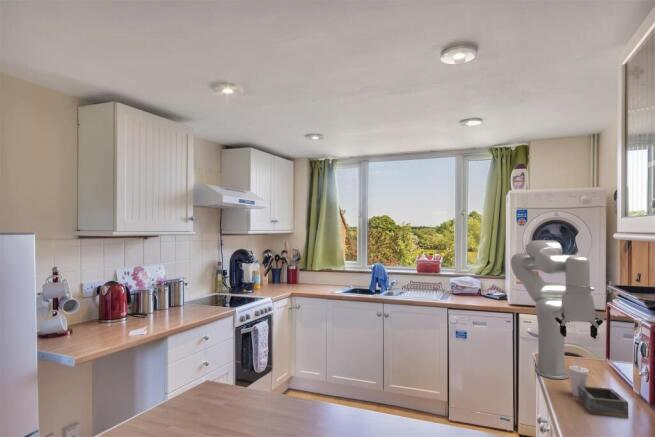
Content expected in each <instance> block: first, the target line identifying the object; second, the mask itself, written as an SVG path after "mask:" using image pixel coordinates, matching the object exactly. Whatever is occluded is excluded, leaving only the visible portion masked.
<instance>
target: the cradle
mask: <svg viewBox="0 0 655 437" xmlns="http://www.w3.org/2000/svg"><path fill="white" fill-rule="evenodd" d="M577 398H578V401H579V402H580V403H581V405H583V407H584V408H585V409H586V410H587V411H588V412H589V413H590V414H591V415H595V416H596V415H597V416H605V417H617V418H625V419H629V402H628V400H626V399H625V398H624V397H622V396H621V395H620V394H619V393H618V392H616V390H614V389H613V388H608V387H607V388H606V387H595V386H587V385H586V386H578V397H577Z"/></svg>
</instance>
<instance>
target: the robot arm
mask: <svg viewBox="0 0 655 437" xmlns="http://www.w3.org/2000/svg"><path fill="white" fill-rule="evenodd" d="M524 249H525V250H524V251H525V252H518V253H515V254H514V255H512V257H511V258H510V259H511V260H510V267H511V270H512V273H513V274H514V276H515V277H516V279H517V280H518V281H519V282H520V283H521V284H522V285H523V287H524V288H525V290H526V292H527V293H528V295H529V296H530V298H531V300H532V301H533V302H534V303H535V306H534V308H535V315H536V318H537V319H536V320H537V337H538V338H537V340H538V341H537V346H538V348H537V349H538V350H537V351H538V356H537V357H538V359H537V360H538V365H537V366H535V367H534V372H535V373H536V374H537V375H538V376H539V375H540V376H542V377H545V378H547V379H553V380H565V379H568V378H570V372H569V371H568V370H566V369H565V359H566V358H565V338H566V337H567V326H566V324H567V323H569V322H570V323H571V322H574V323H575V322H577V323H578V322H580V323H590V327H589V328H590V330H589V331H590V333H589V335H590V337H591V338H593V339H594V340H596V339H597V336H598V328H599V327H600V326H601V325H602V324H603V322H604V321H605V319H606V317H607V316H606V315H605V314H604V313H601V312H599V311H597V310H596V308H595V302H594V298H593V295H592V294H591V292H594V291H595V287H591V281H590V279H591V278H590V276H591V274H590V271H591V270H590V269H591V268H590V267H591V266H590V260H589V258H588V257H584V256H579V255H576V254H563V246H562V245H561V243H560V242H559V241H557V240H551V239H550V240H549V239H548V240H546V239H543V240H542V239H539V240H538V239H537V240H536V239H535V240H531V241H529V242H527V244H526V245H525V248H524ZM535 271H541V272H542V273H545V274H549V275H565V284H564V283H561V282H546V281H544V279H543V278H542V275H540V274H538V273H537V272H535ZM596 316H598V318H597V320H596Z"/></svg>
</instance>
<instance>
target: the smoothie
mask: <svg viewBox="0 0 655 437" xmlns="http://www.w3.org/2000/svg"><path fill="white" fill-rule="evenodd" d="M567 371H568V373H569V378H570V383H571V390H572V395H573V396H574V397H577V398H578V386H586V387H587V383H588V377H589V376H588V375H589V373H590V370H589V369H588V368H586V367H583V366H582V357H581V356H579V357H578V365H569V366H568V370H567Z"/></svg>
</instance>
